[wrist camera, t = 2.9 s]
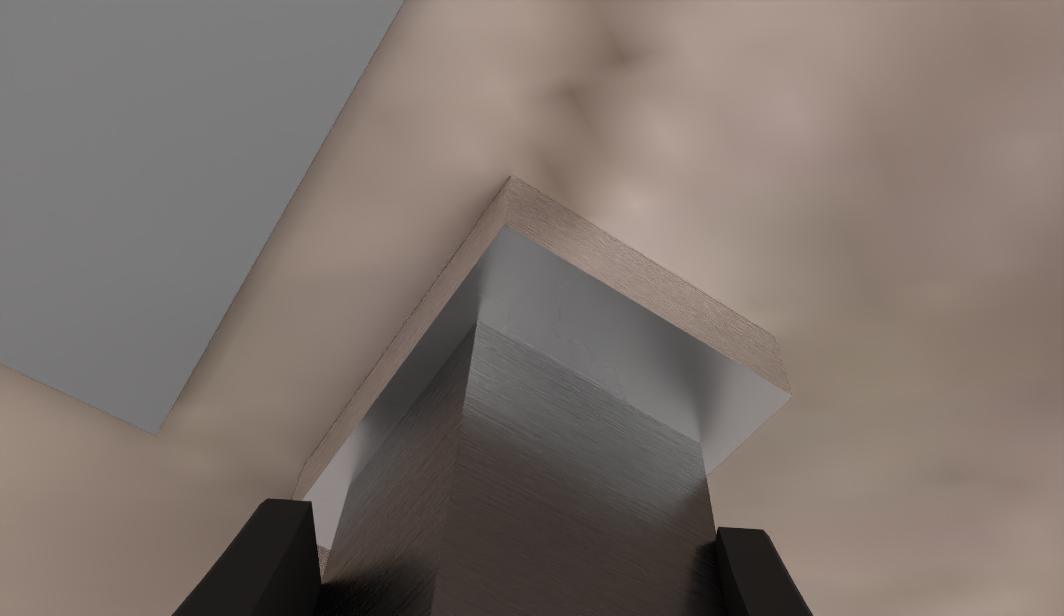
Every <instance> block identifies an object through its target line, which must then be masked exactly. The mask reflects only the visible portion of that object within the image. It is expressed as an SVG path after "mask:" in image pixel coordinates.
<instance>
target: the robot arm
mask: <svg viewBox="0 0 1064 616" xmlns="http://www.w3.org/2000/svg"><path fill="white" fill-rule="evenodd" d="M715 544H716V550H717V556H718V562H719V568H720V574H721V580H722V586H723V591H724V597H725V603H726V607H727V611H728V615H729V616H813V614H812V613H811V611H810V609H809V608H808V606H807V604H806V603H805V601H804V599H803V597H802V596H801V594H800V592H799V591H798V589H797V587H796V585H795V584H794V582H793V580H792V578H791V576H790V575H789V573H788V571H787V569H786V567H785V566H784V564H783V562H782V560H781V558H780V556H779V554H778V552H777V551H776V549H775V547H774V545H773V543H772V541H771V539H770V537H769V536H768V535H767V534H766V532H765V531H764V530H760V529H744V528H728V527H718V530H717V534H716V539H715ZM321 584H322V583H321V575H320V567H319V558H318V550H317V541H316V533H315V525H314V516H313V508H312V501H299V500H283V499H266V500H265V501H264V502H262V503H261V504H260V505H259V507H258V508H257V509H256V511H255V512H254V513H253V515H252V516H251V517H250V519H249V520H248V522H247V523H246V524H245V526H244V527H243V528H242V529H241V531H240V532H239V533H238V535H237V536H236V537H235V539H234V540H233V541H232V543H231V544H230V545H229V547H228V548H227V549H226V550H225V552H224V553H223V554H222V555H221V557H220V558H219V559H218V560H217V562H216V563H215V564H214V565H213V567H212V568H211V569H210V570H209V572H208V573H207V574H206V575H205V577H204V578H203V579H202V580H201V582H200V583H199V584H198V585H197V586H196V587H195V589H194V590H193V591H192V592H191V593H190V595H189V596H188V597H187V598H186V599H185V600H184V602H183V603H182V604H181V605H180V606H179V607H178V609H177V610H176V611H175V612H174V613H173V615H172V616H313V612H314V609H315V605H316V602H317V598H318V595H319V591H320V588H321Z"/></svg>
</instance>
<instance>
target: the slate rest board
mask: <svg viewBox="0 0 1064 616" xmlns="http://www.w3.org/2000/svg"><path fill="white" fill-rule="evenodd" d="M403 2H404V0H0V364H1V365H4V366H6V367H8V368H10V369H12V370H14V371H17V372H19V373H21V374H23V375H25V376H27V377H30V378H32V379H34V380H36V381H38V382H40V383H42V384H45V385H47V386H49V387H51V388H53V389H55V390H58V391H60V392H62V393H64V394H66V395H68V396H71V397H73V398H75V399H77V400H79V401H81V402H84V403H86V404H88V405H90V406H92V407H94V408H96V409H99V410H101V411H103V412H105V413H107V414H109V415H112V416H114V417H116V418H118V419H120V420H122V421H125V422H127V423H129V424H131V425H133V426H135V427H138V428H140V429H142V430H144V431H146V432H148V433H150V434H153V435H155V436H156V435H157V433H158V431H159V429H160V428H161V426H162V424H163V423H164V421H165V419H166V417H167V416H168V414H169V412H170V410H171V409H172V407H173V405H174V403H175V402H176V400H177V398H178V396H179V395H180V393H181V391H182V389H183V388H184V386H185V384H186V382H187V381H188V379H189V377H190V375H191V374H192V372H193V370H194V368H195V367H196V365H197V363H198V361H199V360H200V358H201V356H202V354H203V353H204V351H205V349H206V347H207V346H208V344H209V342H210V340H211V339H212V337H213V335H214V333H215V332H216V330H217V328H218V326H219V325H220V323H221V321H222V319H223V318H224V316H225V314H226V312H227V310H228V309H229V307H230V305H231V303H232V302H233V300H234V298H235V296H236V295H237V293H238V291H239V289H240V288H241V286H242V284H243V282H244V281H245V279H246V277H247V275H248V274H249V272H250V270H251V268H252V267H253V265H254V263H255V261H256V260H257V258H258V256H259V254H260V253H261V251H262V249H263V247H264V246H265V244H266V242H267V240H268V239H269V237H270V235H271V233H272V232H273V230H274V228H275V226H276V225H277V223H278V221H279V219H280V218H281V216H282V214H283V212H284V211H285V209H286V207H287V205H288V204H289V202H290V200H291V198H292V197H293V195H294V193H295V191H296V190H297V188H298V186H299V184H300V183H301V181H302V179H303V177H304V176H305V174H306V172H307V170H308V169H309V167H310V165H311V163H312V162H313V160H314V158H315V156H316V154H317V153H318V151H319V149H320V147H321V146H322V144H323V142H324V140H325V139H326V137H327V135H328V133H329V132H330V130H331V128H332V126H333V125H334V123H335V121H336V119H337V118H338V116H339V114H340V112H341V111H342V109H343V107H344V105H345V104H346V102H347V100H348V98H349V97H350V95H351V93H352V91H353V90H354V88H355V86H356V84H357V83H358V81H359V79H360V77H361V76H362V74H363V72H364V70H365V69H366V67H367V65H368V63H369V62H370V60H371V58H372V56H373V55H374V53H375V51H376V49H377V48H378V46H379V44H380V42H381V41H382V39H383V37H384V35H385V34H386V32H387V30H388V28H389V27H390V25H391V23H392V21H393V20H394V18H395V16H396V14H397V13H398V11H399V9H400V7H401V5H402V4H403Z"/></svg>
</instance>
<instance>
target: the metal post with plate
mask: <svg viewBox="0 0 1064 616" xmlns="http://www.w3.org/2000/svg"><path fill="white" fill-rule="evenodd" d="M792 396H793V395H792V392H791V389H790V385H789V382H788V379H787V376H786V373H785V370H784V366H783V363H782V360H781V357H780V354H779V351H778V348H777V344H776V341H775V338H774V336H772V335H770V334H769V333H767V332H765V331H764V330H762V329H761V328H759V327H757V326H756V325H754V324H752V323H751V322H749V321H748V320H746V319H744V318H743V317H741V316H739V315H738V314H736V313H735V312H733V311H731V310H730V309H728V308H726V307H725V306H723V305H722V304H720V303H718V302H717V301H715V300H713V299H712V298H710V297H709V296H707V295H705V294H704V293H702V292H700V291H699V290H697V289H696V288H694V287H692V286H691V285H689V284H688V283H686V282H684V281H683V280H681V279H679V278H678V277H676V276H675V275H673V274H671V273H670V272H668V271H666V270H665V269H663V268H662V267H660V266H658V265H657V264H655V263H653V262H652V261H650V260H649V259H647V258H645V257H644V256H642V255H640V254H639V253H637V252H636V251H634V250H632V249H631V248H629V247H627V246H626V245H624V244H623V243H621V242H619V241H618V240H616V239H614V238H613V237H611V236H610V235H608V234H606V233H605V232H603V231H601V230H600V229H598V228H597V227H595V226H593V225H592V224H590V223H588V222H587V221H585V220H584V219H582V218H580V217H579V216H577V215H575V214H574V213H572V212H571V211H569V210H567V209H566V208H564V207H562V206H561V205H559V204H558V203H556V202H554V201H553V200H551V199H549V198H548V197H546V196H545V195H543V194H541V193H540V192H538V191H536V190H535V189H533V188H532V187H530V186H528V185H527V184H525V183H523V182H522V181H520V180H519V179H517V178H515V177H514V176H512V175H511V176H510V178H509V179H508V180H507V182H506V183H505V185H504V186H503V187H502V189H501V190H500V192H499V193H498V195H497V196H496V197H495V199H494V200H493V202H492V203H491V204H490V206H489V207H488V209H487V210H486V211H485V213H484V214H483V216H482V217H481V218H480V220H479V221H478V223H477V224H476V225H475V227H474V228H473V230H472V231H471V232H470V234H469V235H468V237H467V238H466V239H465V241H464V242H463V244H462V245H461V246H460V248H459V249H458V251H457V252H456V253H455V255H454V256H453V258H452V259H451V260H450V262H449V263H448V265H447V266H446V267H445V269H444V270H443V272H442V273H441V274H440V276H439V277H438V279H437V280H436V281H435V283H434V284H433V286H432V287H431V288H430V290H429V291H428V293H427V294H426V295H425V297H424V298H423V300H422V301H421V302H420V304H419V305H418V307H417V308H416V310H415V311H414V312H413V314H412V315H411V317H410V318H409V319H408V321H407V322H406V324H405V325H404V326H403V328H402V329H401V331H400V332H399V333H398V335H397V336H396V338H395V339H394V340H393V342H392V343H391V345H390V346H389V347H388V349H387V350H386V352H385V353H384V354H383V356H382V357H381V359H380V360H379V361H378V363H377V364H376V366H375V367H374V368H373V370H372V371H371V373H370V374H369V375H368V377H367V378H366V380H365V381H364V382H363V384H362V385H361V387H360V388H359V389H358V391H357V392H356V394H355V395H354V396H353V398H352V399H351V401H350V402H349V403H348V405H347V406H346V408H345V409H344V410H343V412H342V413H341V415H340V416H339V417H338V419H337V420H336V422H335V423H334V424H333V426H332V427H331V429H330V430H329V432H328V433H327V434H326V436H325V437H324V439H323V440H322V441H321V443H320V444H319V446H318V447H317V448H316V450H315V451H314V453H313V454H312V455H311V457H310V458H309V460H308V461H307V462H306V464H305V465H304V467H303V470H302V472H301V475H300V478H299V481H298V484H297V486H296V489H295V492H294V495H293V498H292V500H299V501H312V508H313V516H314V525H315V533H316V541H317V545H320V546H322V547H324V548H326V549H328V550H330V554H329V557H328V561H327V564H326V567H325V571H324V574H323V578H322V581H321V583H322V584H321V588H320V591H319V595H318V598H317V602H316V605H315V609H314V612H313V616H729V615H728V611H727V607H726V603H725V597H724V591H723V586H722V580H721V574H720V568H719V562H718V556H717V550H716V544H715V539H716V531H715V525H714V519H713V513H712V507H711V502H710V496H709V490H708V484H707V478H706V476H707V475H708V474H710V473H711V472H712V471H713V470H714V469H715V468H716V467H717V466H718V465H719V464H720V463H721V462H722V461H723V460H725V459H726V458H727V457H728V456H729V455H730V454H731V453H732V452H733V451H734V450H735V449H736V448H737V447H738V446H740V445H741V444H742V443H743V442H744V441H745V440H746V439H747V438H748V437H749V436H750V435H751V434H752V433H753V432H755V431H756V430H757V429H758V428H759V427H760V426H761V425H762V424H763V423H764V422H765V421H766V420H767V419H769V418H770V417H771V416H772V415H773V414H774V413H775V412H776V411H777V410H778V409H779V408H780V407H781V406H782V405H784V404H785V403H786V402H787V401H788V400H789V399H790V398H791V397H792Z"/></svg>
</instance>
